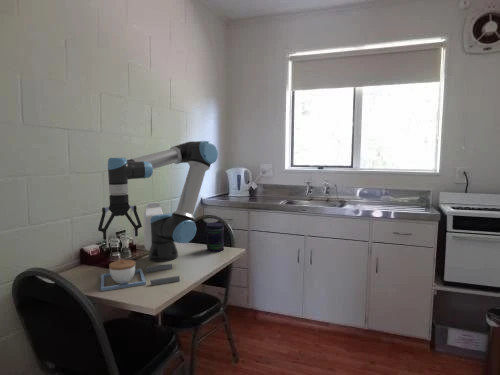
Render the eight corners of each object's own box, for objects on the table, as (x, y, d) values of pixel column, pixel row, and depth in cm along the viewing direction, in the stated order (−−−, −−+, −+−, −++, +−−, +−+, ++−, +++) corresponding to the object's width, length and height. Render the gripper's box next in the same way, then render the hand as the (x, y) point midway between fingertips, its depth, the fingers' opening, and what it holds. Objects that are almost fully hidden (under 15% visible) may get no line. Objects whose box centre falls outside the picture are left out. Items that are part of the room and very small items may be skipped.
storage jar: (208, 247, 198) (207, 222, 197) (225, 247, 198) (224, 222, 196) (205, 252, 188) (204, 226, 187) (223, 252, 188) (222, 226, 186)
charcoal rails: (171, 267, 163) (171, 263, 163) (179, 281, 147) (179, 276, 146) (146, 271, 159) (145, 267, 159) (150, 285, 142) (150, 280, 142)
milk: (145, 249, 195) (143, 204, 192) (143, 244, 206) (141, 202, 203) (166, 247, 200) (165, 203, 197) (163, 242, 210) (162, 200, 208)
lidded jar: (107, 279, 149) (106, 259, 148) (131, 274, 155) (131, 254, 154) (113, 287, 140) (112, 265, 139) (139, 281, 146) (138, 260, 145)
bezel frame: (141, 271, 159) (141, 267, 159) (145, 284, 143) (145, 279, 143) (101, 276, 152) (101, 272, 152) (100, 291, 136) (100, 286, 136)
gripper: (88, 196, 136) (92, 250, 138) (147, 193, 145) (149, 244, 147) (89, 194, 143) (92, 246, 145) (145, 191, 151) (147, 240, 154)
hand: (121, 245), depth 146 cm, fingers open, 10 cm apart
